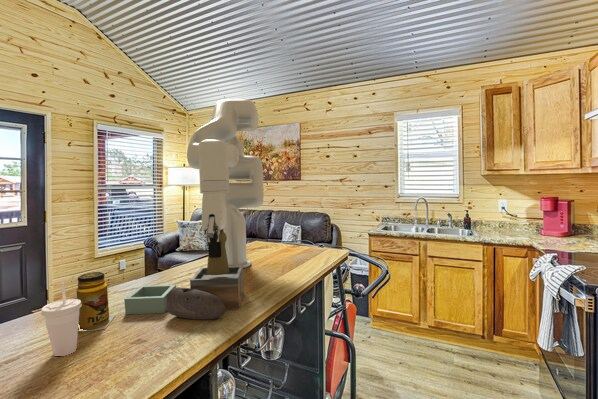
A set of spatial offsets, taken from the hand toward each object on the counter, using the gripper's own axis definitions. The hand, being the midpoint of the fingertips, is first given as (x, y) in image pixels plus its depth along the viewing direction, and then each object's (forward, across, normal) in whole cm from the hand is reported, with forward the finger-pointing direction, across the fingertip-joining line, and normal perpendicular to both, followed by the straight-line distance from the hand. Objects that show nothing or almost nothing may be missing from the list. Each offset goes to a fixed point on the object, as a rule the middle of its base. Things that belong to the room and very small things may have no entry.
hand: (217, 253), depth 86 cm
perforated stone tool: (+14, +9, -4) cm, 17 cm away
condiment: (+14, +10, -28) cm, 33 cm away
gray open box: (+13, 0, 0) cm, 13 cm away
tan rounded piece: (+5, 0, 0) cm, 5 cm away
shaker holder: (+13, +1, -18) cm, 22 cm away
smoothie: (+14, +22, -26) cm, 37 cm away
